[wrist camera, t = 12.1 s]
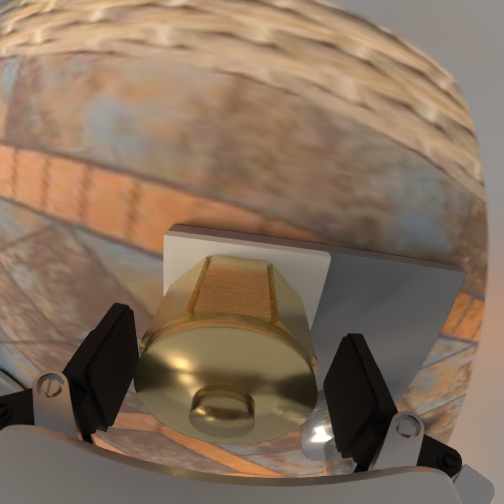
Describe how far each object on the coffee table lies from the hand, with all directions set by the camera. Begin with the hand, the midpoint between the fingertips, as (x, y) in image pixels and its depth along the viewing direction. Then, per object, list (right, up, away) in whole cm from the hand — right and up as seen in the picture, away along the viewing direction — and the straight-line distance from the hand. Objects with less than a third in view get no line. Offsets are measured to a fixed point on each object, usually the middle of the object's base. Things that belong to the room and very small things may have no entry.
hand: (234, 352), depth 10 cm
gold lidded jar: (0, +1, +2) cm, 2 cm away
